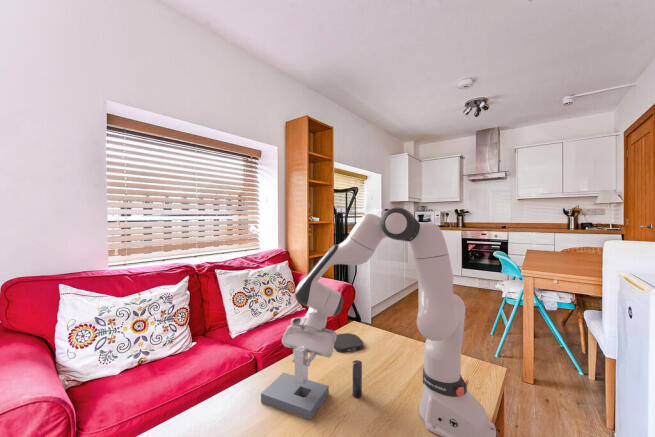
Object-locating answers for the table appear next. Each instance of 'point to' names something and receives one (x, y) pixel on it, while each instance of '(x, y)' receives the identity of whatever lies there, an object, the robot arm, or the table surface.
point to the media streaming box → (347, 343)
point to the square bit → (301, 365)
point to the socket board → (295, 395)
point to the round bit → (357, 379)
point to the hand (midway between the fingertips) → (300, 364)
